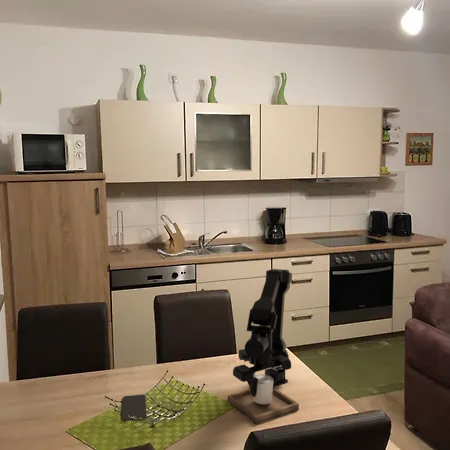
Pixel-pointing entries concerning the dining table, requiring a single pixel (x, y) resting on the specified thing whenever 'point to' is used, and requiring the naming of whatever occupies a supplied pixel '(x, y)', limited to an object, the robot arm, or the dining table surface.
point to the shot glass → (264, 389)
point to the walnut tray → (262, 405)
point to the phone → (133, 407)
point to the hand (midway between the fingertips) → (262, 393)
